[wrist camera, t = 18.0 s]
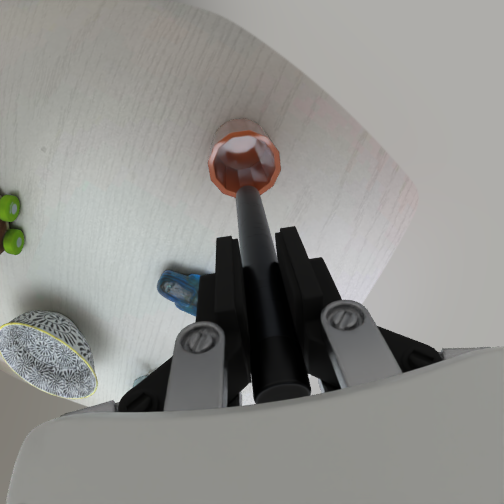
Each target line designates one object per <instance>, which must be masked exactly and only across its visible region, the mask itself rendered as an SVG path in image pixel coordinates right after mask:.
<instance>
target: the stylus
mask: <svg viewBox="0 0 504 504" xmlns="http://www.w3.org/2000/svg"><path fill="white" fill-rule="evenodd" d="M236 205H237V217H238V229H239V240H240V252H241V260H242V266H243V274H244V285H245V295H246V305H247V315H248V325H249V335H250V355H249V356H250V367H251V377H252V387H253V397H254V401H255V403H256V404H261V403H269V402H275V401H282V400H288V399H294V398H300V397H305V396H310V394H311V387H310V382H309V378H308V374H307V370H306V366H305V362H304V358H303V354H302V350H301V346H300V344H299V341H298V339H297V336H296V332H295V328H294V324H293V320H292V316H291V312H290V308H289V304H288V300H287V296H286V293H285V289H284V285H283V281H282V277H281V273H280V269H279V265H278V260H277V256H276V252H275V248H274V244H273V241H272V237H271V233H270V230H269V226H268V222H267V219H266V215H265V211H264V208H263V204H262V200H261V197H260V193H259V191H258V190H257V189H256V188H255V187H253V186H249V185H247V186H243V187H241V188H240V189H239V190H238V191H237V193H236Z"/></svg>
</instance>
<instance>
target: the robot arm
mask: <svg viewBox="0 0 504 504" xmlns="http://www.w3.org/2000/svg"><path fill="white" fill-rule="evenodd" d="M275 240H276V249H277V260H278V265H279V269H280V273H281V277H282V281H283V285H284V289H285V293H286V296H287V300H288V304H289V308H290V312H291V316H292V320H293V324H294V328H295V332H296V336H297V339H298V341H299V344H300V346H301V350H302V354H303V358H304V362H305V366H306V370H307V374H311V375H313V376H315V377H317V378H318V383H319V386H320V390H321V394H316V395H311V396H305V397H300V398H294V399H288V400H282V401H275V402H269V403H261V404H254V405H246V406H242V394H241V391H242V390H243V389H244V388H245V387H246V386H247V385H248V384H249V383H251V367H250V356H249V355H250V335H249V325H248V315H247V305H246V295H245V285H244V274H243V266H242V260H241V254H240V248H239V242H238V239H232V236H226V237H220V238H217V240H216V268H215V273H213V274H206V275H201V276H200V279H199V289H198V301H197V312H196V322H195V323H193V324H190V325H188V326H186V327H185V328H184V329H182V330H181V332H180V333H179V334H178V336H177V338H176V341H175V347H174V352H173V356H172V357H171V358H170V359H169V360H167V361H166V362H165V363H164V364H162V365H161V366H160V367H159V368H157V369H156V370H155V371H154V372H152V373H151V374H150V375H148V376H147V377H146V378H145V379H143V380H142V381H141V382H140V383H138V384H137V385H136V386H134V387H133V388H132V389H131V390H129V391H128V392H127V393H126V394H125V395H124V396H123V397H122V399H121V400H120V402H118V403H115V402H114V401H113V400H112V401H109V402H105V403H102V404H99V405H95V406H91V407H88V408H84V409H81V410H77V411H73V412H69V413H66V414H64V415H61V416H60V417H59V418H55V419H53V420H49V421H47V422H44V423H42V424H40V425H38V426H36V427H35V428H34V429H33V430H32V431H30V433H29V434H28V435H27V437H26V439H25V440H24V442H23V444H22V447H21V449H20V451H19V454H18V457H17V460H16V463H15V466H14V469H13V473H12V477H11V482H10V486H9V490H8V496H7V501H6V504H504V347H492V348H491V347H480V348H453V349H452V348H448V349H442V350H441V352H437V351H436V350H435V349H434V348H432V347H430V346H428V345H426V344H423V343H421V342H418V341H415V340H413V339H410V338H407V337H405V336H402V335H400V334H397V333H394V332H392V331H389V330H386V329H384V328H381V327H378V326H376V324H375V322H374V320H373V319H372V317H371V315H370V313H369V312H368V310H367V309H366V308H365V307H364V306H363V305H361V304H360V303H358V302H355V301H352V300H342V299H341V296H340V294H339V292H338V290H337V288H336V286H335V283H334V281H333V279H332V277H331V275H330V273H329V270H328V268H327V266H326V264H325V262H324V260H323V258H321V257H319V258H313V259H309V258H308V256H307V253H306V251H305V248H304V246H303V244H302V241H301V239H300V237H299V234H298V232H297V229H296V227H295V226H294V227H287V228H280V232H279V233H275Z"/></svg>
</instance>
